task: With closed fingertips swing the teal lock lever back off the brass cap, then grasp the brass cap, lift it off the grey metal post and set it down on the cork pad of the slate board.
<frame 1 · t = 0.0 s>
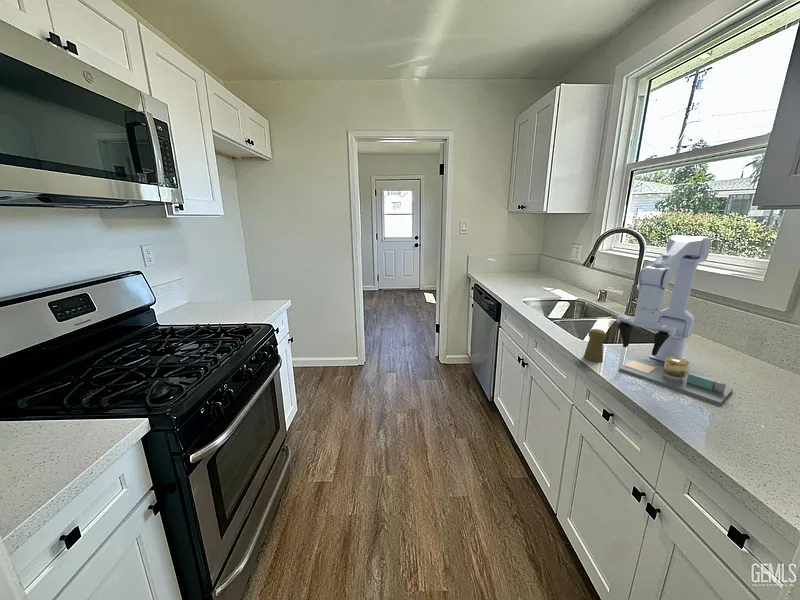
hand: (639, 350, 101), 10 cm above the table, fingers open, 7 cm apart
pepper shaker: (592, 359, 119), on the table
lock lever: (705, 382, 97), point 3 cm above the table, hinge at 0.0°
cap: (673, 373, 103), point 2 cm above the table, touching post board
post board: (672, 380, 103), on the table
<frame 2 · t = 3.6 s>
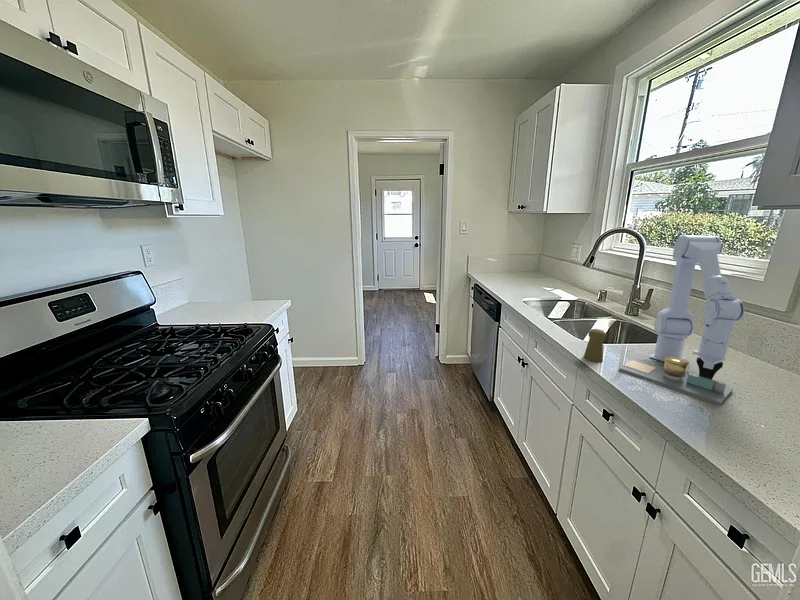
hand: (703, 383, 98), 2 cm above the table, fingers closed, pressing on lock lever
lock lever: (705, 383, 97), point 3 cm above the table, hinge at 3.0°, touching gripper
everything else where it was.
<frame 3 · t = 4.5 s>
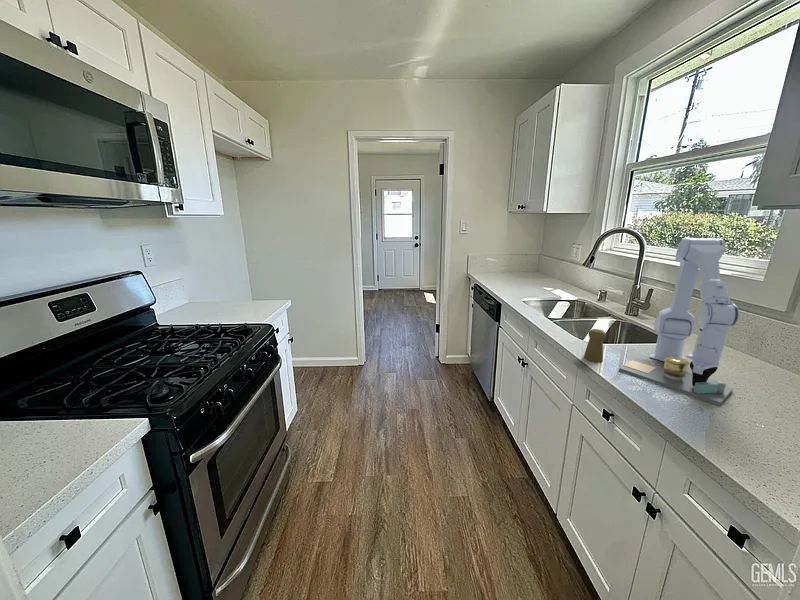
hand: (697, 387, 96), 2 cm above the table, fingers closed, pressing on lock lever
lock lever: (709, 387, 94), point 3 cm above the table, hinge at 60.5°, touching gripper
everything else where it was.
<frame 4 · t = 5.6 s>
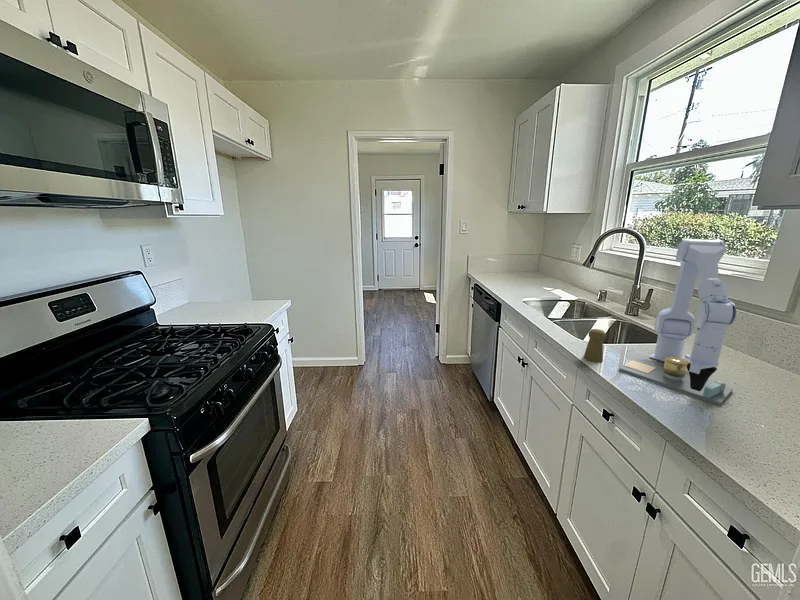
hand: (695, 389, 94), 2 cm above the table, fingers closed
lock lever: (714, 389, 93), point 3 cm above the table, hinge at 81.0°
everything else where it was.
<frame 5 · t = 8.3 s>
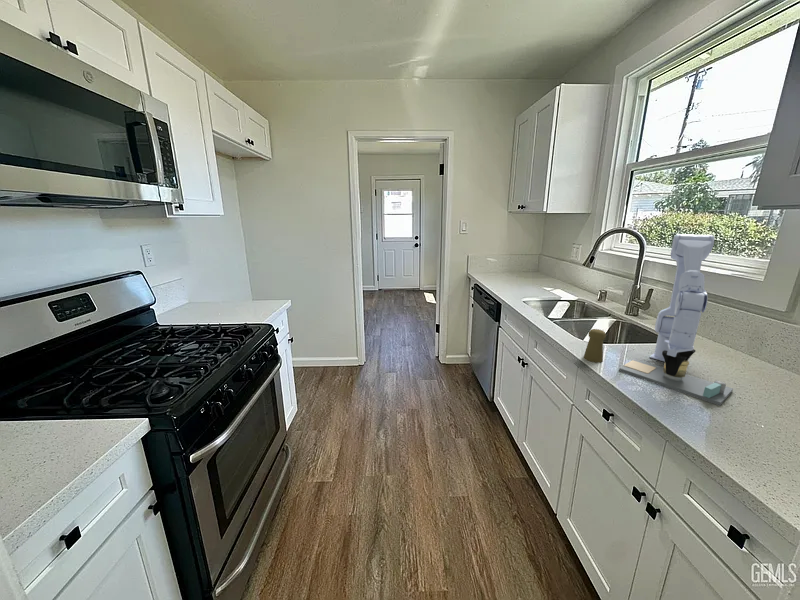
hand: (674, 372, 103), 3 cm above the table, fingers closed on cap, 6 cm apart
cap: (673, 373, 103), point 2 cm above the table, touching gripper, post board
everything else where it was.
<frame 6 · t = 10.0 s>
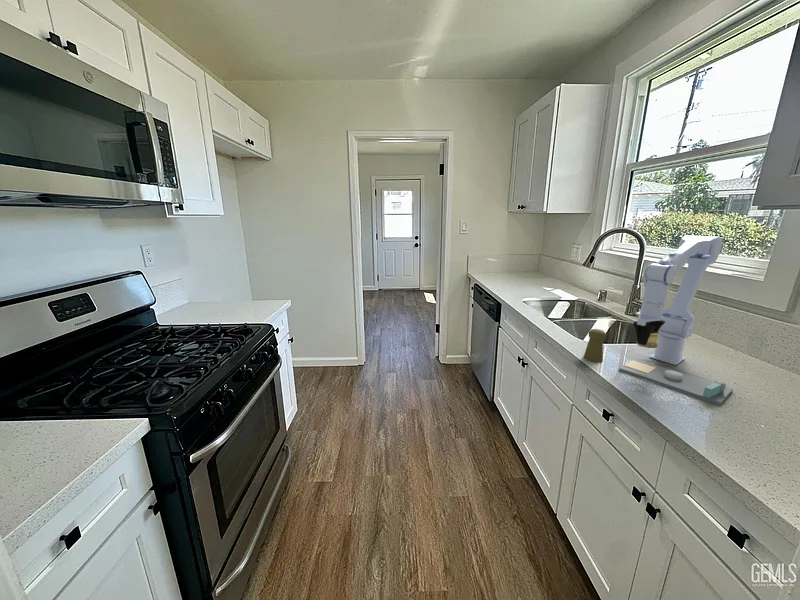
hand: (645, 342, 108), 10 cm above the table, fingers closed on cap, 6 cm apart
cap: (647, 345, 107), point 9 cm above the table, touching gripper
everything else where it was.
when the fingers open (3 cm above the table, at t = 11.9 s): cap drops 1 cm, resting on post board.
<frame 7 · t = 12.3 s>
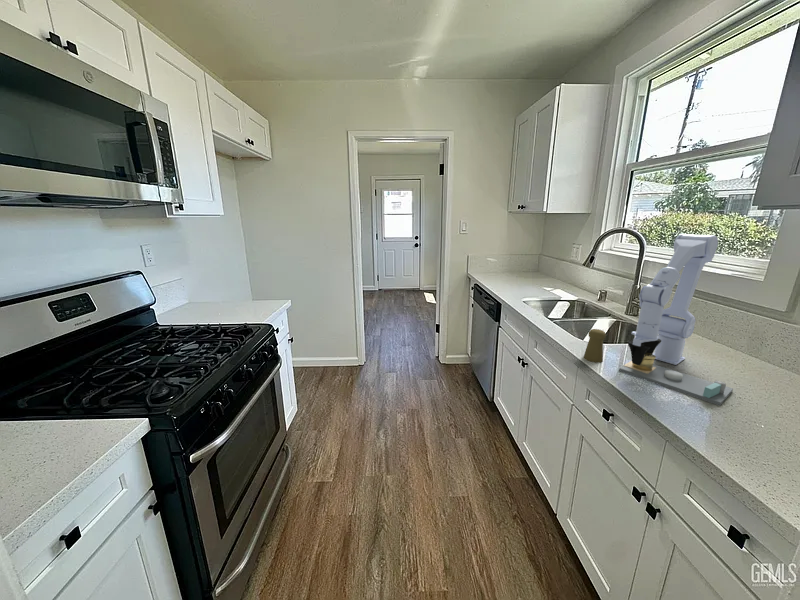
hand: (640, 361, 110), 3 cm above the table, fingers open, 7 cm apart
cap: (641, 367, 110), point 1 cm above the table, touching post board
everything else where it was.
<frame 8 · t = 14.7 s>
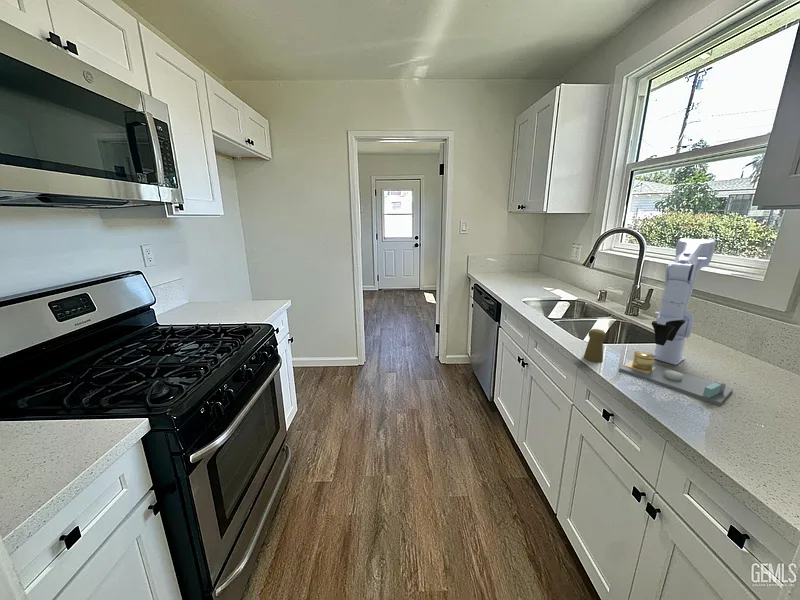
hand: (664, 342, 107), 10 cm above the table, fingers open, 7 cm apart
nothing on the table moved.
at the end: lock lever at +81° (first picture: +0°); cap 0.6 cm from the target spot, point 1.2 cm above the table; cap tilted 1° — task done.
